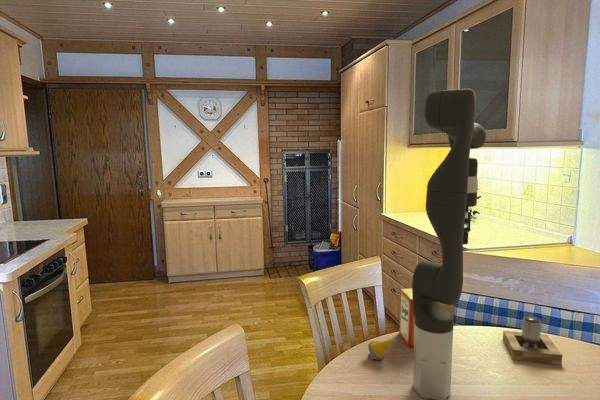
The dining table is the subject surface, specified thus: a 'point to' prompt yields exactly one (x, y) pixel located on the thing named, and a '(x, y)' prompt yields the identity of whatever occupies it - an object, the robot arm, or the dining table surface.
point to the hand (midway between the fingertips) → (461, 240)
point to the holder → (532, 349)
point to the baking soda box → (407, 316)
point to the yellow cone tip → (378, 349)
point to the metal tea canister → (531, 332)
